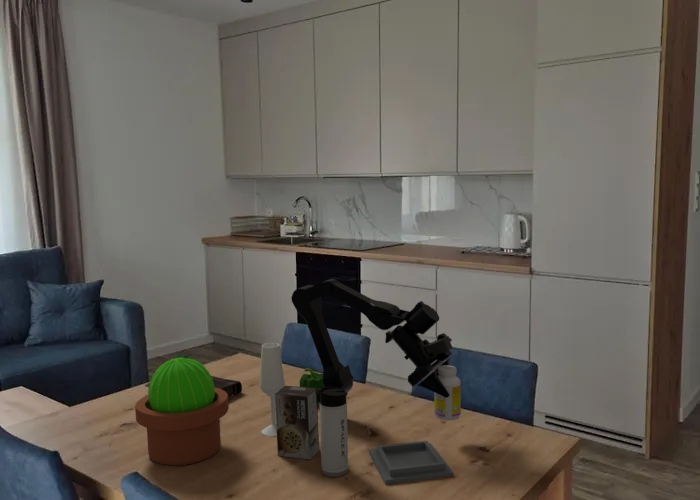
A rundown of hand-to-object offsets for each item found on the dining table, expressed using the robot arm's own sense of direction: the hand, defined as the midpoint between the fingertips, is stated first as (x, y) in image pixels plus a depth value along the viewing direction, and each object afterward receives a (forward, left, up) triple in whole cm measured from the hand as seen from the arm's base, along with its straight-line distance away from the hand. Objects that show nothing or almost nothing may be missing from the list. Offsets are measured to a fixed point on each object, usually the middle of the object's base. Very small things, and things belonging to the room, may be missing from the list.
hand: (452, 392), depth 158 cm
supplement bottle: (-1, +1, -7) cm, 7 cm away
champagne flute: (-44, +19, -13) cm, 50 cm away
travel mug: (-32, -8, -13) cm, 36 cm away
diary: (-67, +54, -14) cm, 87 cm away
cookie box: (-39, +4, -13) cm, 42 cm away
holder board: (-14, -9, -13) cm, 22 cm away
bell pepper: (-30, +40, -13) cm, 52 cm away
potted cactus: (-67, +12, -13) cm, 70 cm away
